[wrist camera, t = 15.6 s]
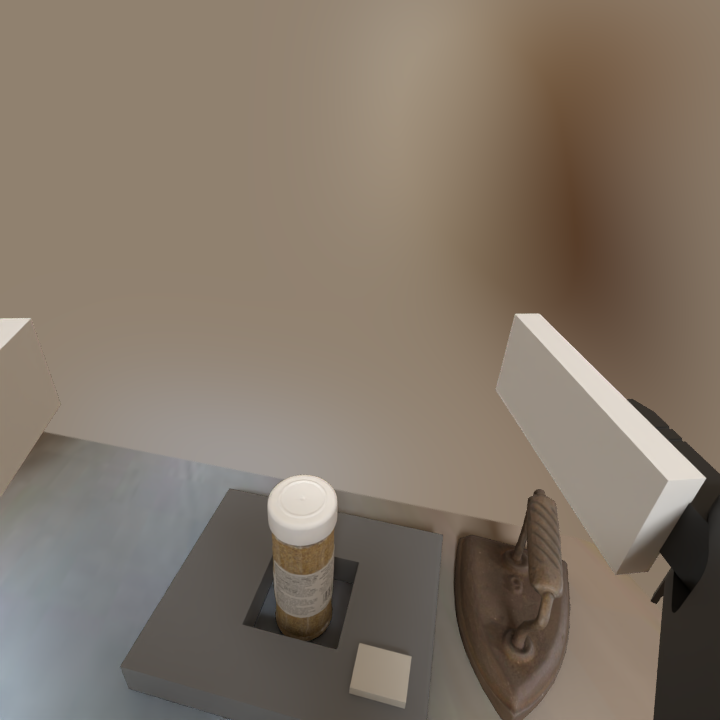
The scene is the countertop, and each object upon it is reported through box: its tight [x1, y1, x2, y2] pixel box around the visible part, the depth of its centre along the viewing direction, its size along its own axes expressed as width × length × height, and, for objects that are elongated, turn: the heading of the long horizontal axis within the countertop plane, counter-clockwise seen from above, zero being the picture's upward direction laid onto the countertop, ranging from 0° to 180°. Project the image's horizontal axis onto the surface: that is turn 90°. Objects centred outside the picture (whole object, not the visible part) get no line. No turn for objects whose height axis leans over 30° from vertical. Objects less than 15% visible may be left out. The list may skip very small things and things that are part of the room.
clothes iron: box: [455, 489, 570, 720], centre depth 35 cm, size 14×10×11 cm
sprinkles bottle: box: [267, 475, 338, 641], centre depth 34 cm, size 5×5×14 cm
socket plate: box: [120, 489, 443, 720], centre depth 37 cm, size 20×16×4 cm
